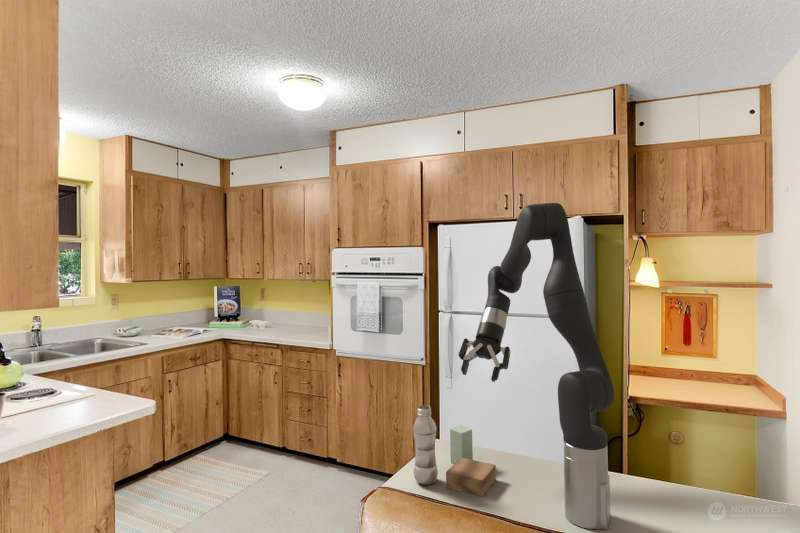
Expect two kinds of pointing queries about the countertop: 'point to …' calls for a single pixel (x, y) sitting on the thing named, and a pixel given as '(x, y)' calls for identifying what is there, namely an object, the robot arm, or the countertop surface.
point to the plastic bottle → (425, 447)
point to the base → (471, 476)
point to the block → (461, 443)
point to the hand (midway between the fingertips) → (478, 377)
